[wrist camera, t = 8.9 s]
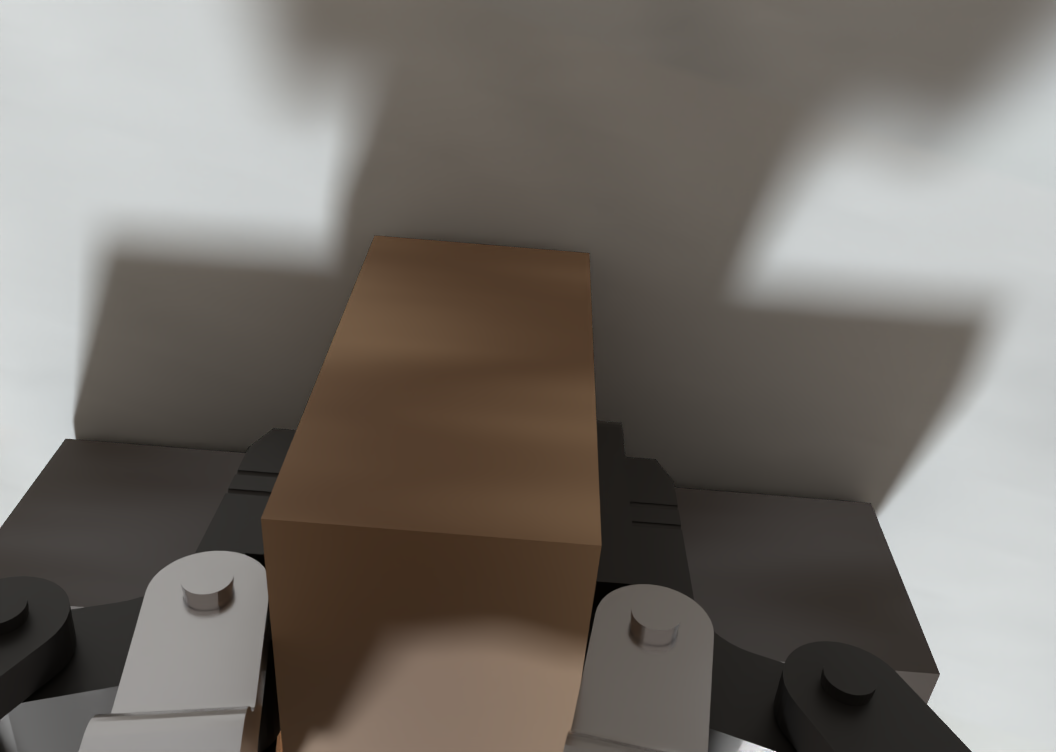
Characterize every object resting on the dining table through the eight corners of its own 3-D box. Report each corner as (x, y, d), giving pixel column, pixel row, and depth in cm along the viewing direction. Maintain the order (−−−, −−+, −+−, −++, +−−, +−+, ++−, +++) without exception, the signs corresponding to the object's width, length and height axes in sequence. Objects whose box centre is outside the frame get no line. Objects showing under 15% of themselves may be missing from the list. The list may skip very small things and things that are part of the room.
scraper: (945, 282, 14) (1164, 589, 9) (852, 558, 17) (977, 913, 12) (14, 205, 14) (-313, 472, 9) (78, 497, 16) (-141, 828, 11)
